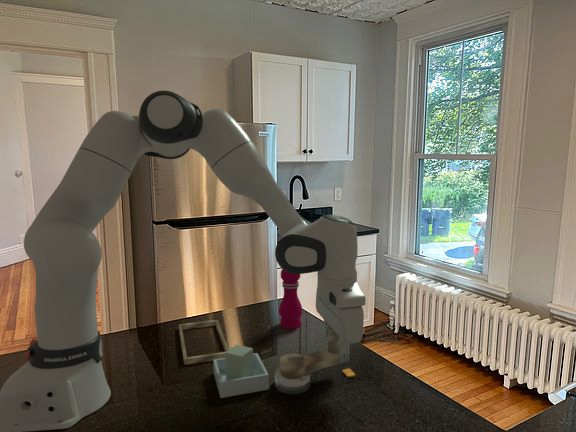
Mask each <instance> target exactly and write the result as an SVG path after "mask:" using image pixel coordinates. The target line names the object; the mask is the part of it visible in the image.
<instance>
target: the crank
mask: <svg viewBox="0 0 576 432" xmlns="http://www.w3.org/2000/svg"><path fill="white" fill-rule="evenodd" d="M327 341H328V342H327V344H328V346H327V348H328V349H325V350H319V351H315V352H311V353H306V354H299V353H287V354H286V353H285V354H284V355H282V356H281V357H280V358H279V367H280V374H281V375H282V376H284V377H286V378H299V377H301V376H303V375H304V374H305V372H306V371H310V372H311V371H313V370H318V369H325V368H327V367H332V366H336V365H340V359H341V358H340V356H341V354H340V352H339V351H338V344H340V339H339V336H338V335H337V334H336V332H335V331H334V330H333V329H332V328H331V327H329V328H328V338H327Z"/></svg>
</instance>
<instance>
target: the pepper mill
mask: <svg viewBox="0 0 576 432" xmlns="http://www.w3.org/2000/svg"><path fill="white" fill-rule="evenodd" d="M280 279H281V280H282V283H281V284H282V285H281V286H282V288H283V297H282V300H281V302H280V305H279V309H278V314H279V316H280V327H282V328H284V329H288V330H289V329H291V330H292V329H297V328H299V327H301V325H302V318H301V317H302V315H303V313H304V312H303V306H302V303H301V301H300V299H299V297H298V288H299V285H300V284H299V280H300V279H301V274H291V273H288V272H286V271H285V270H283V269H282V268H281V271H280Z"/></svg>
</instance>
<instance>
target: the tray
mask: <svg viewBox="0 0 576 432" xmlns="http://www.w3.org/2000/svg"><path fill="white" fill-rule="evenodd" d="M212 362H213V375H214V376H213V377H214V380H215V383H216V387H217V390H218V394H219V397H220V399H224V398H229V397H233V396H240V395H245V394H251V393H256V392H262V391H267V390H270V383H269V381H270V375H269V373H268V371H267V368H266V367H265V365H264V363H263V361H262V359H261V357H260V355H259V354H258V353H257V352H256V353H254V352H253V376H249V377H243V378H237V379H231V380H226V359H225V358H221V359H215V360H213V361H212Z"/></svg>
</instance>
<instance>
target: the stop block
mask: <svg viewBox="0 0 576 432" xmlns="http://www.w3.org/2000/svg"><path fill="white" fill-rule="evenodd" d="M224 352H225V351H224ZM253 354H254V348H253V347H248V346H244V345H241V344H235V345H234V346H232V347H231V348H229V350H228V351H227V352H225V359H226V380H231V379H237V378H243V377H249V376H253Z"/></svg>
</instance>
